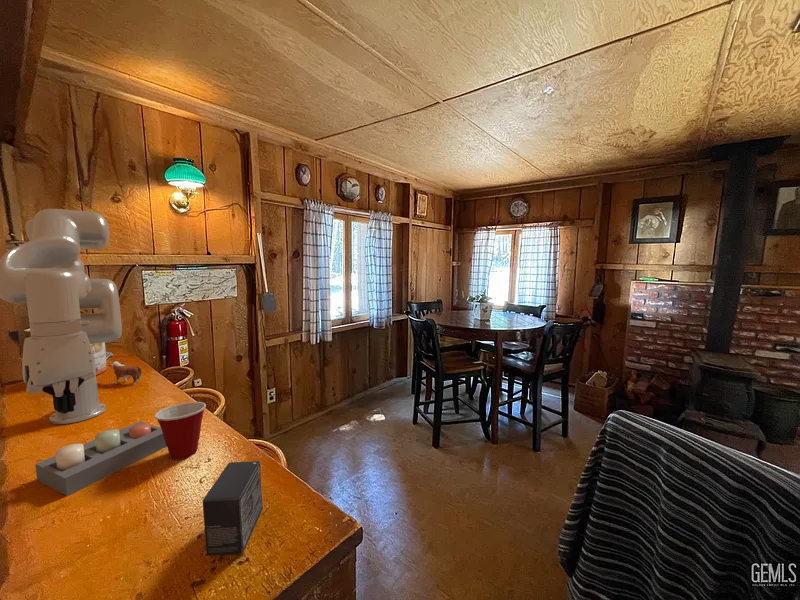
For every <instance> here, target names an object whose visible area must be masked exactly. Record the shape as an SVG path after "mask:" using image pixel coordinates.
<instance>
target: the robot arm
mask: <svg viewBox="0 0 800 600" xmlns="http://www.w3.org/2000/svg"><path fill="white" fill-rule="evenodd" d="M24 227H25V232H26V233H25V234H26V236H27V238H28V240H29V241H26V242H24V243H22V244H20V245H17V246H15V247H14V248H11V249H10V250H8V251H6V252H5V253H4V254H3V255H2V257H0V299H1V300H2V301H5V302H7V303H11V304H27V305H26V306H27V314H28V322H29V331H30V336H29V337H25V338H24V341H23V347H22V359H21V361H22V362H21V363H22V365H21V368H22V380H23V382H24V384H26V388H25V392H26V393H28V394H39V393H40V394H42V393H45V394H47V395H51V396H52V403H53V410H54V411H55V412H54V413H53V414H51V415H50V416H49V423H51V424H53V425H67V424H68V425H69V424H73V423H78V422H83V421H86V420H90V419H92V418H95V417H98V416H99V415H101V414H102V413H103V412H105V411H106V410H107V406H106V404H105V403H102V402H100V401H99V400H100V399H99V389H98V379H97V376H96V367H95V358H94V356H93V354H92V349H91V346H90V344H95V343H104V342H105V343H110V342H116V341H118V340H119V339H120V338H121V337H122V333H123V325H122V324H123V323H122V315H121V305H120V297H119V291H118V287H117V285H116V283H115V282H114V281H113V280H111V279H108V278H90V276H89V275H87V273H85V265H84V264H85V263H84V262H83V260H81V259H80V258H79V256H80V253H81V249H83V250H85V249H87V250H88V249H89V250H101V249H102V250H103V249H106V247H108V245H109V243H110V233H111V232H110V227H109V223H108V222H107V219H106V218H105V217H104V216H103V215H102V214H100V213H98V212H95V211H87V210H85V211H84V210H75V209H74V210H73V209H64V208H46V209H42V210H40V211H38V212H37V213H36V214H35V215H34V218H32V219H29V220H27V222H26V223H25V226H24ZM94 309H97V310H100V311H101V312H94V313H90V312H89V313H81V310H94Z"/></svg>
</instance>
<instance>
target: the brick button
mask: <svg viewBox="0 0 800 600" xmlns="http://www.w3.org/2000/svg"><path fill="white" fill-rule="evenodd" d="M151 425H152V424H151V423H147V422H144V424H139V425H135V426H133V427H131V428H130V429H129V434H130V438H133V439H137V438H139V437H142V436H144V435H146V434H149V433H151Z"/></svg>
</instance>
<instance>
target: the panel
mask: <svg viewBox="0 0 800 600" xmlns="http://www.w3.org/2000/svg"><path fill="white" fill-rule="evenodd" d="M144 423H145V422H144V421H139V422H136V423H133V424H130V425H128V426H126V427H123V428H121V429H118V430H119V433H120V444H121V446H119V447H117V448H115V449H112V450H110V451H108V452H106V453H103V454H100V453H97V452H96V442H95V439H94V440H91V441H88V442H85V443H84V444H83V443H82V444H83V446H84V456H85V462H83V463H81V464H78V465H76V466H74V467H72V468H69V469H67V470H65V471H63V472H61V471H59V470H57V463H56V455H53V456H52V457H48V458H47V459H44V460H41V461H39V462H37V463H35V473H36V480H37V482H39V483H41V484H43V485H45V486H47V487H49V488H51V489H53V490H54V491H56V492H58V493H59V494H61V495H64V496H66V497H69V496H71V495H72V494H74V493H77V492H78V491H81V490H82V489H84V488H86V487H89V486H90V485H92V484H94V483H97V482H98V481H101V480H102V479H104V478H107V477H108V476H110V475H112V474H114V473H116V472H118V471H120V470H122V469H124V468H126V467H129V466H130V465H132V464H134V463H137V462H139V461H140V460H142V459H145V458H146V457H149V456H151V455H153V454H154V453H157V452H159V451H160V450H162V449H165V448H167V446H166V443H165V439H164V436H163V433H162V429H161V427H160V426H159V427H158V426H156V425H153V424H150V425H151V433H149V434H146V435H144V436H142V437H139V438H137V439H133V438H130V434H129V429H130V428H131V427H133V426H135V425H139V424H144Z"/></svg>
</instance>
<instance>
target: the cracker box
mask: <svg viewBox="0 0 800 600" xmlns="http://www.w3.org/2000/svg"><path fill="white" fill-rule="evenodd" d="M90 346H91V349H92V354H93V356H94V358H95V367H96V375H97V376H99V375H101V374H103V373H105V372H107V371H108V367H107V353H106V342H104V343H95V344H90ZM106 370H107V371H106ZM104 371H105V372H104ZM102 372H103V373H102ZM100 373H101V374H100ZM98 374H99V375H98Z"/></svg>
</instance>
